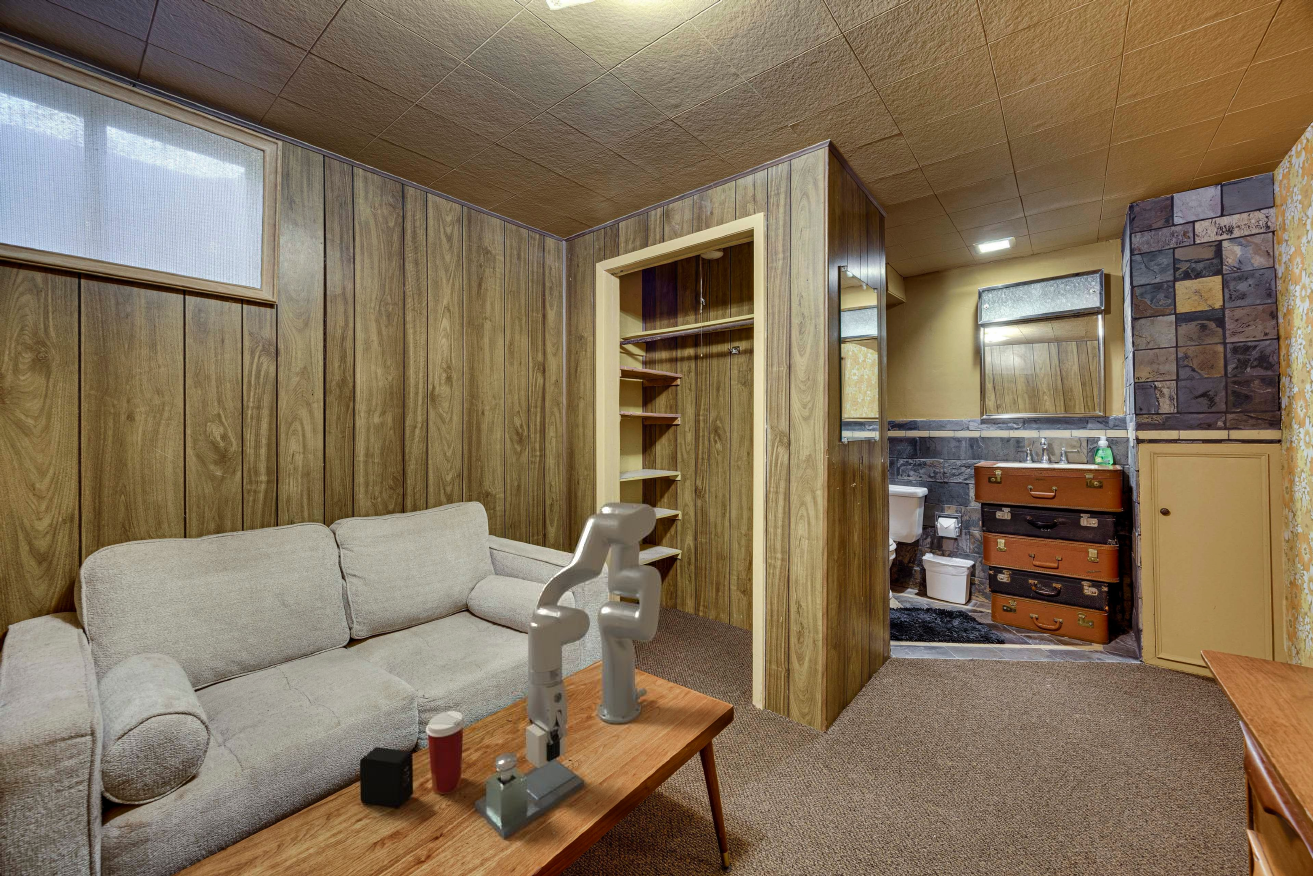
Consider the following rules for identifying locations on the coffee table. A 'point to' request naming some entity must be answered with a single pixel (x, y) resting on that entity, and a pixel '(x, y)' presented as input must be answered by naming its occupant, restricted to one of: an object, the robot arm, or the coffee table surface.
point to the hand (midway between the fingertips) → (546, 752)
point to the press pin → (506, 766)
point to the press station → (526, 796)
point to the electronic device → (386, 777)
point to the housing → (539, 745)
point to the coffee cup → (445, 750)
